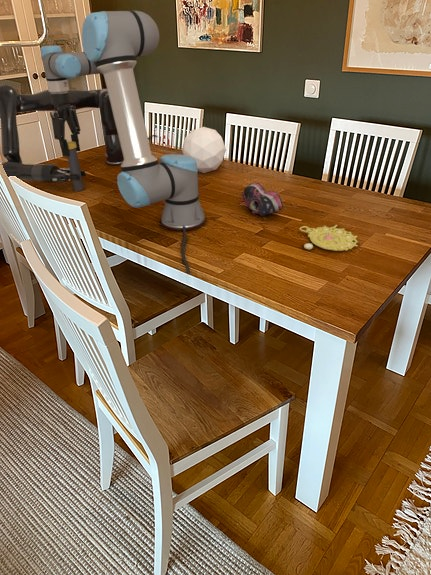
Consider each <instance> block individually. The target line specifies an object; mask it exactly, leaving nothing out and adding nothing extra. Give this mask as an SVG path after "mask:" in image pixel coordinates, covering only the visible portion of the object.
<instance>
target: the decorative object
mask: <svg viewBox="0 0 431 575" xmlns="http://www.w3.org/2000/svg"><path fill="white" fill-rule="evenodd" d="M303 228H304V229H305V230H304V229H303ZM299 231H300V232H303V233H305V234H307V237H308V238H309V240H310V241H311V243H304V244H303V248H304V249H305V250H313V249H314V245H315V246H316V247H318V248H321V249H324V250H328V251H335V252H341V251H348V250H352V249H354V247H356V248H358V247H359V245H358V244H357V243H359V240H357V238H359V237H358V235H353V234H352V231H347V230H346V229H345V228H344V227H342V228H338V224H335V225H333V226H331V227H328V226H327V225H326V224H325V225H323V226H322V227H321V226H317V227H316V228H314V227H309V226H308V225H302V226H300V227H299ZM313 244H314V245H313Z"/></svg>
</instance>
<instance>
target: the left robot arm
mask: <svg viewBox="0 0 431 575" xmlns="http://www.w3.org/2000/svg"><path fill="white" fill-rule="evenodd" d="M68 92H69V93H70V95H71V101H72V102H71V103H70V105H71V106H75V107H76V111H78V110H80V109H81V110H82V109H90V108H92V109H98V110H99V116H100V125H101V131H102V138H103V144H104V149H105V150H104V151H105V153H104V155H105V157H106V164H108V165H111V166H119V165H121V164H122V163H123V161H124V157H123V153H122V148H121V144H120V140H119V136H118V132H117V128H116V124H115V120H114V115H113V111H112V107H111V103H110V99H109V95H108V91H107V88H100V89H99V88H98V89H91V90H90V89H89V90H81V89H71V88H69V91H68ZM53 111H54V105H53V104H52V103H51V99H50V92H49V91H48V89H45V90H42V91H39V92H36V93H31V94H30V93H29V94H26V93H25V94H23V93H21V94H20V93H18V91H17V89H15V88H14V87H13V86H11V85H9V84H2V85H0V138H1V139H0V140H1V142H0V143H1V154H2V156H3V158H4V159H6V161H4V162H2V163H1V164H2V165H3V168H4V170H5V172H6V174H7V176H8V177H9V176H16V177H17V178H19V179H21V180H24V181H27V182H28V181H29V182H37V183H48V184H56V183H67V182H69V181H72V180H80V175H79V174H71V173H70V168H69V166H66V168H64V167H62V168H59V166H57V165H56V164H47V163H37V164H35V163H23V160H22V157H21V154H20V152H21V151H20V150H21V149H20V137H19V130H18V123H17V114H18V113H27V112H53ZM153 137H155V138H158V136H157V135H156V134H152V135H151V136H148V140H149V139H151V138H153ZM80 171H81V176H82V177H86V175H87V174H86V171H85V170H80Z"/></svg>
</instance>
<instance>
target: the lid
mask: <svg viewBox="0 0 431 575" xmlns="http://www.w3.org/2000/svg"><path fill="white" fill-rule="evenodd" d="M67 145H68V149H75V148H76V147H77V146H76V142H73V141H72V140H71V141H67Z"/></svg>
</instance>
